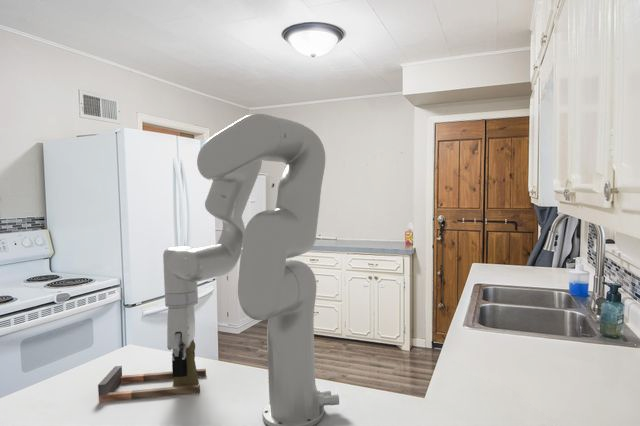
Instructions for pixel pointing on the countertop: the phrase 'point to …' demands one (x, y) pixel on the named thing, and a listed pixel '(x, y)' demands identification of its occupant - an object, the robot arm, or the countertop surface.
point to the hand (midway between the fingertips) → (184, 367)
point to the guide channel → (115, 379)
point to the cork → (188, 369)
